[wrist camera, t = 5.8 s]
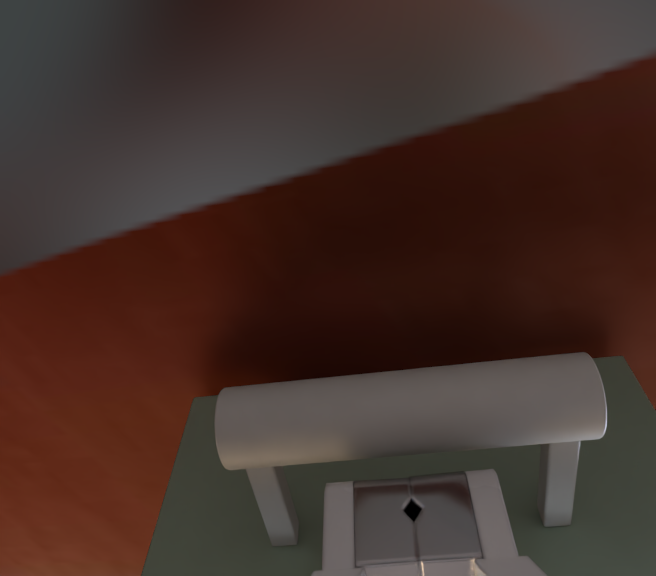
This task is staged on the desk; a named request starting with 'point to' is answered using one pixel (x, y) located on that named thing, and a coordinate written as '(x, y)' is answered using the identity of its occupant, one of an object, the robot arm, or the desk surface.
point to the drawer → (418, 462)
